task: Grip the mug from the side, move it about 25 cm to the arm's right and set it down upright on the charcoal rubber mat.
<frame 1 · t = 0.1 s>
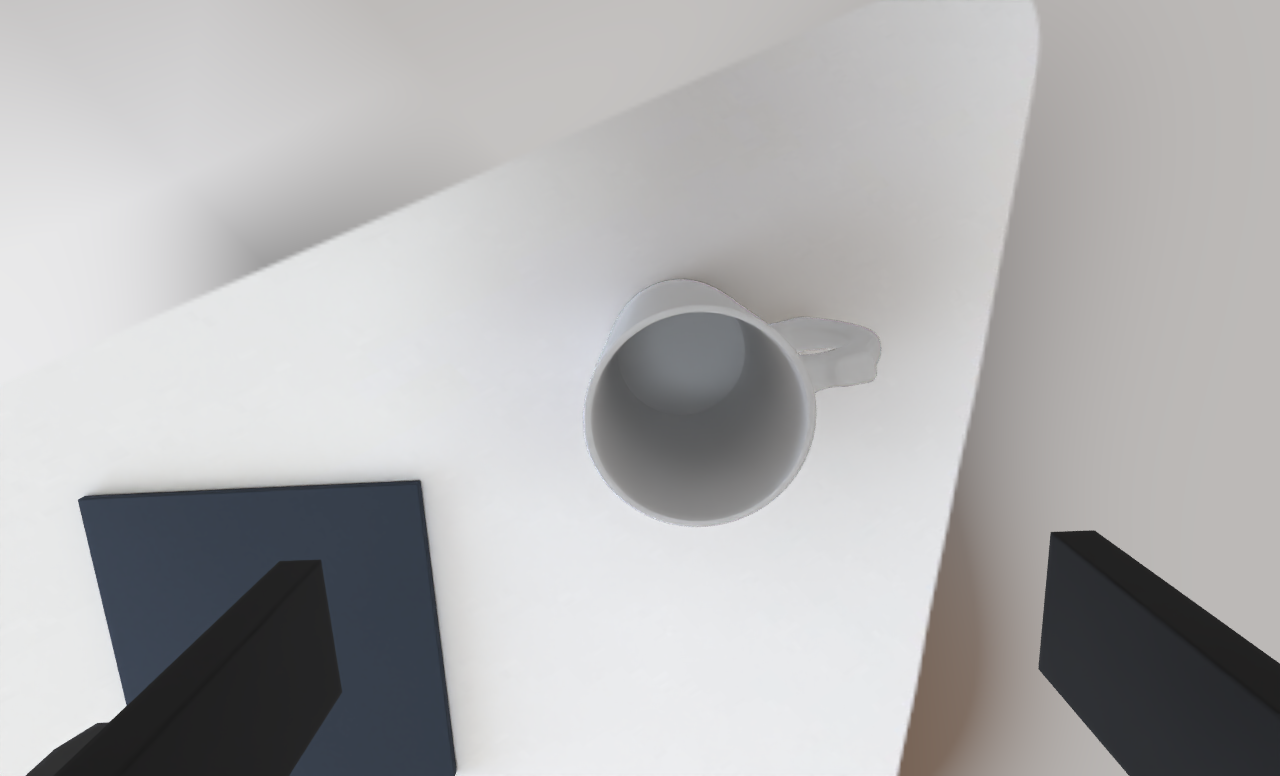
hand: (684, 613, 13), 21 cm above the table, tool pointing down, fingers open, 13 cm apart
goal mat: (279, 639, 37), on the table
mug: (714, 338, 33), on the table
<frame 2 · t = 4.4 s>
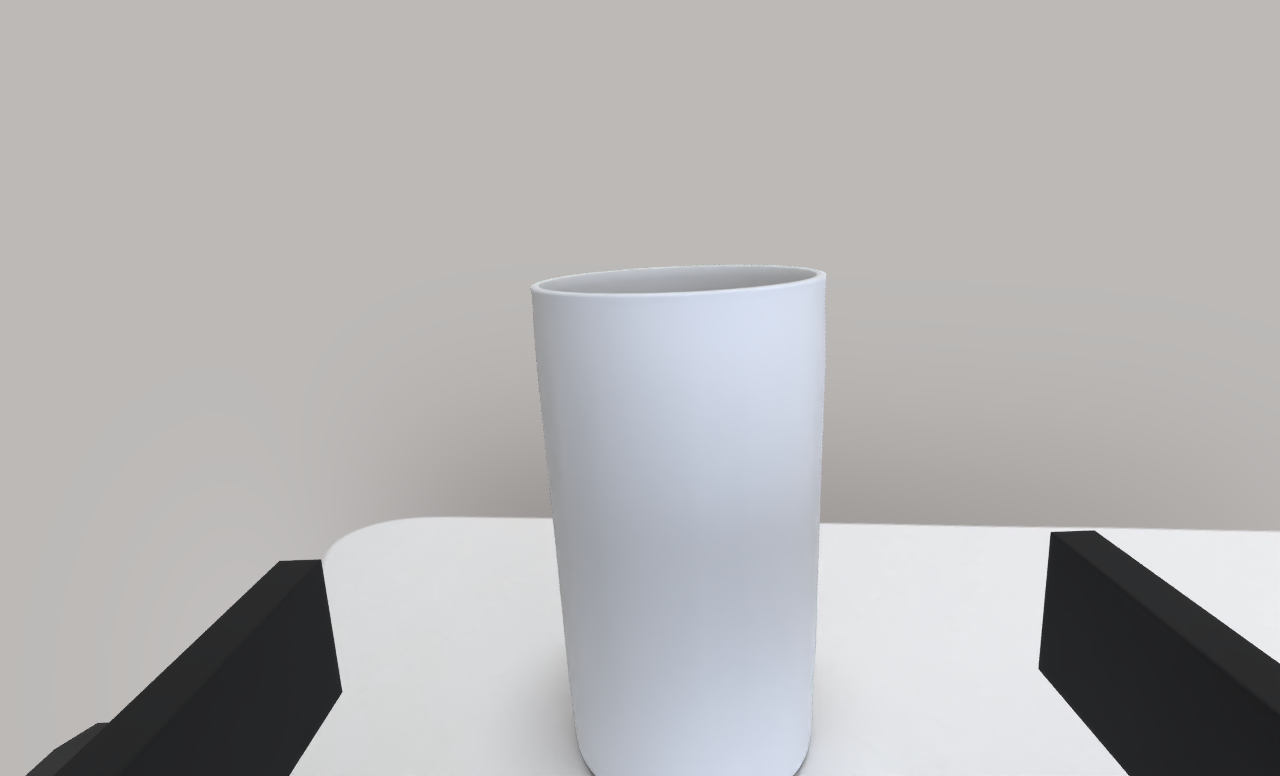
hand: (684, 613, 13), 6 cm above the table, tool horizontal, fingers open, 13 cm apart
mug: (678, 695, 21), on the table
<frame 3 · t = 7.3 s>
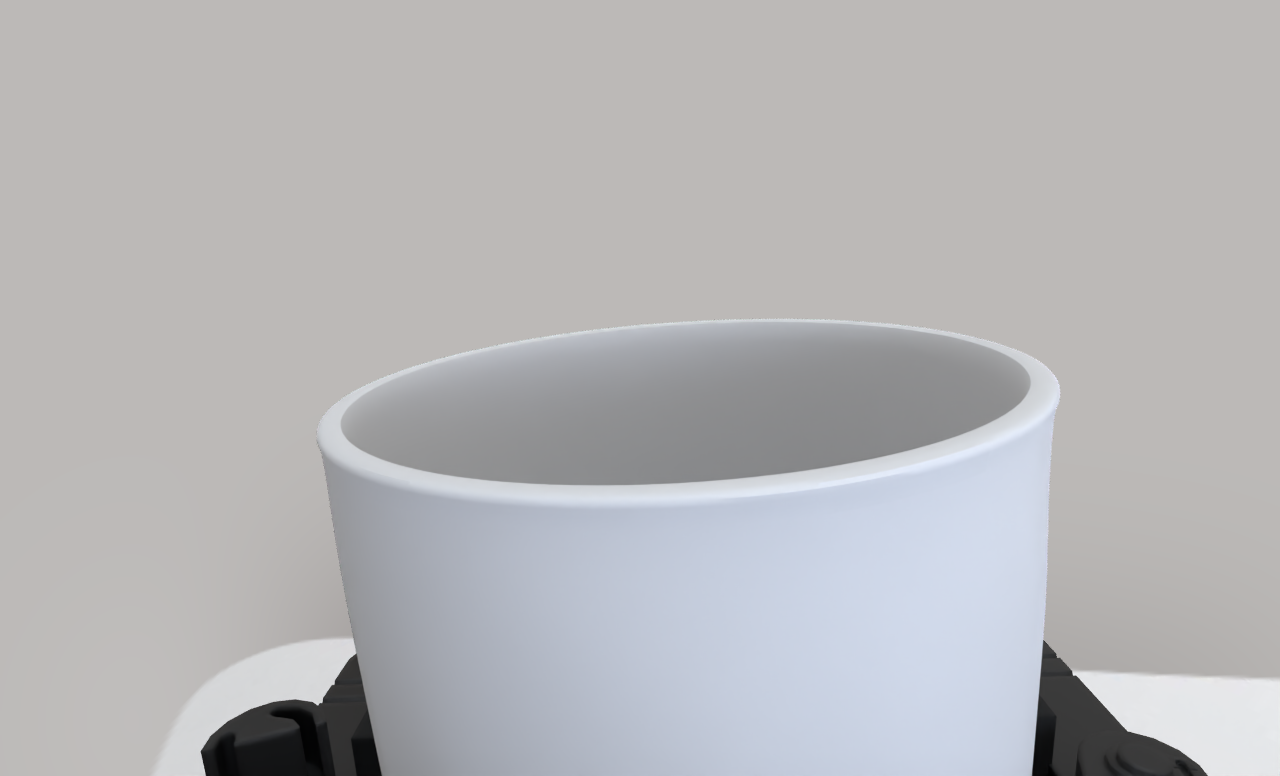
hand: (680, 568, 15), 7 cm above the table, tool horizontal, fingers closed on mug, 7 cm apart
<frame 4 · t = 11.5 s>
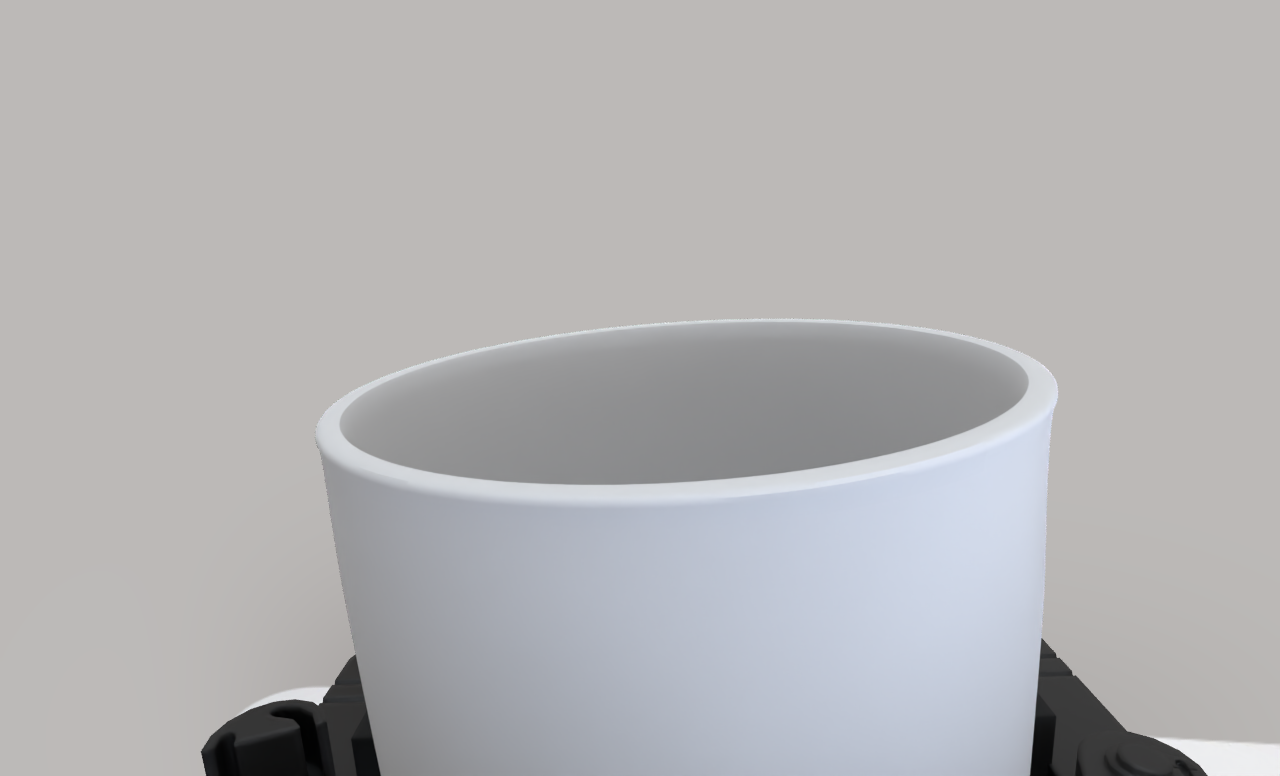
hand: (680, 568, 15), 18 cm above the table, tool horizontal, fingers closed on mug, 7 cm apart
when the fingers open (7 cm above the table, at t = 16.1 s): mug stays where it is, resting on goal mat.
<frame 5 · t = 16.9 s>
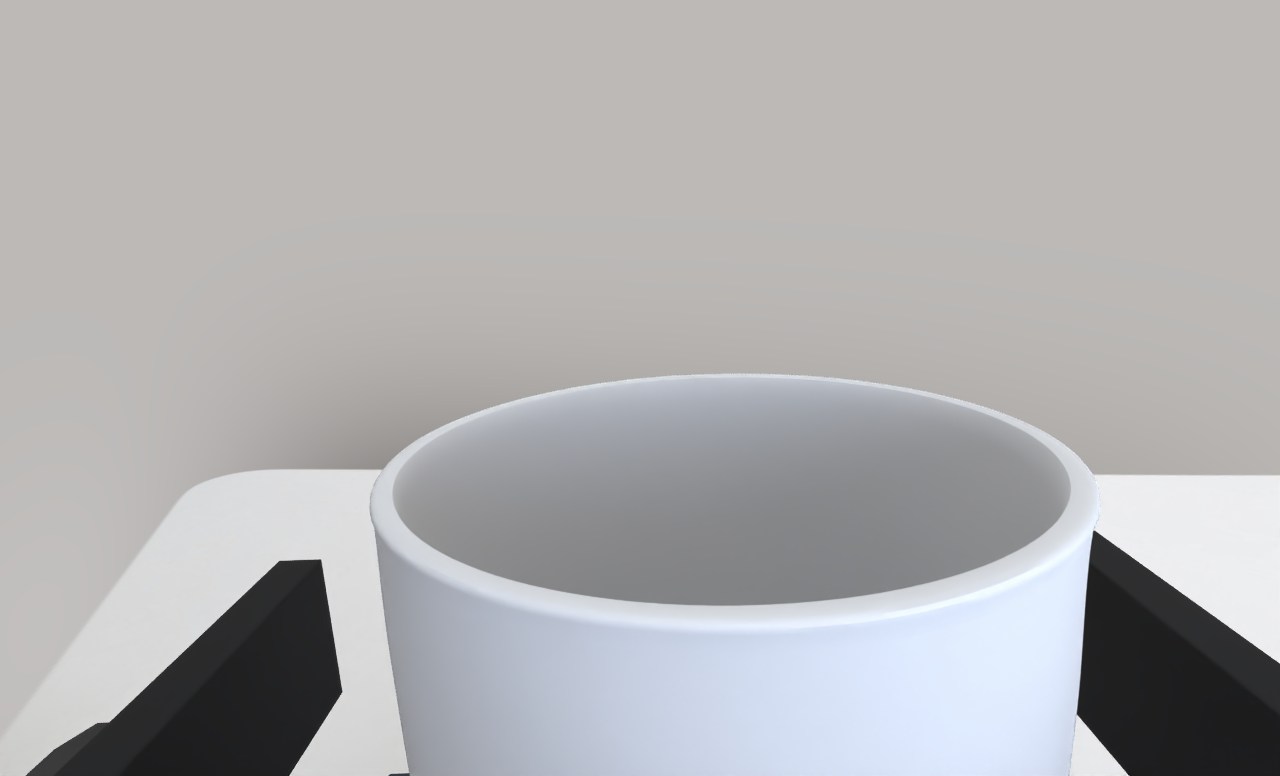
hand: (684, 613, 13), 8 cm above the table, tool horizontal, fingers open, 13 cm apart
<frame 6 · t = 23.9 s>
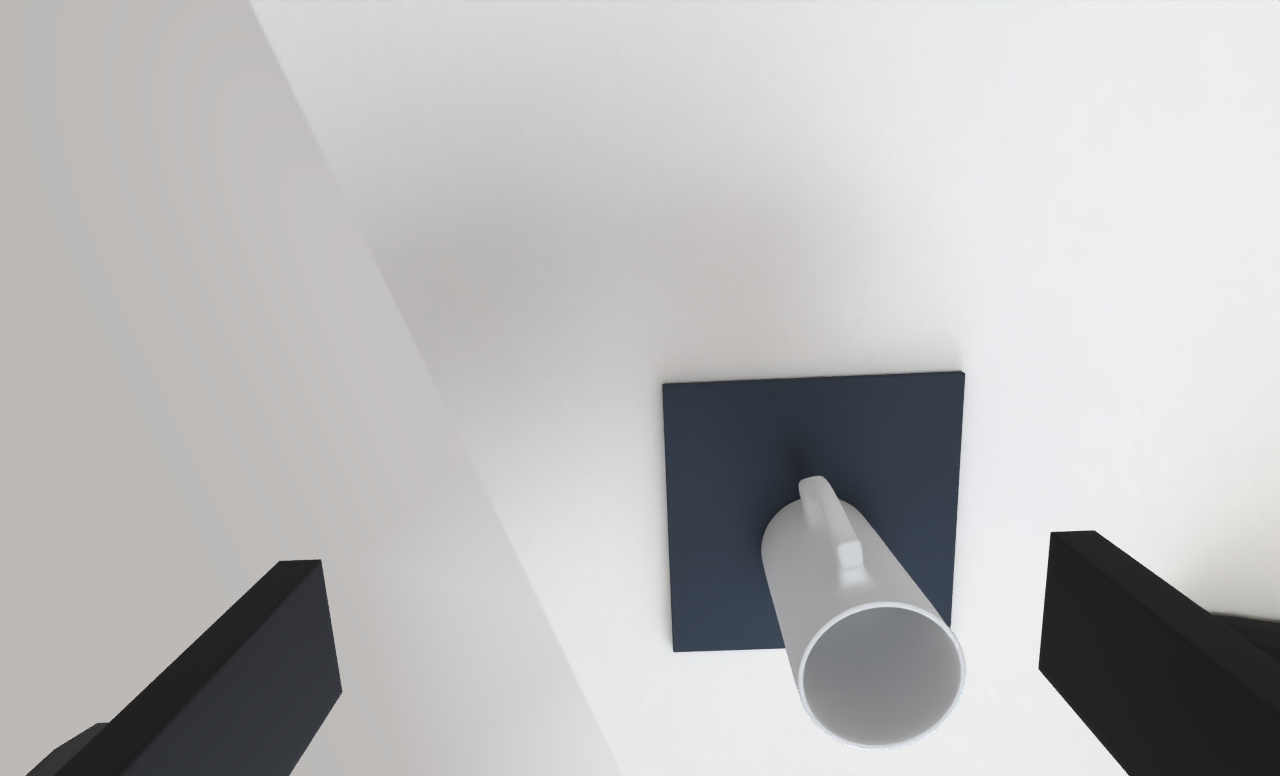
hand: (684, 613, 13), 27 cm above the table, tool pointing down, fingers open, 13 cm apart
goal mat: (810, 516, 41), on the table
gaming mouse: (1217, 657, 43), on the table
mug: (809, 518, 41), resting on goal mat
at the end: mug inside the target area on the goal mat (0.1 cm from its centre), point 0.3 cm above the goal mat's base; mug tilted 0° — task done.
